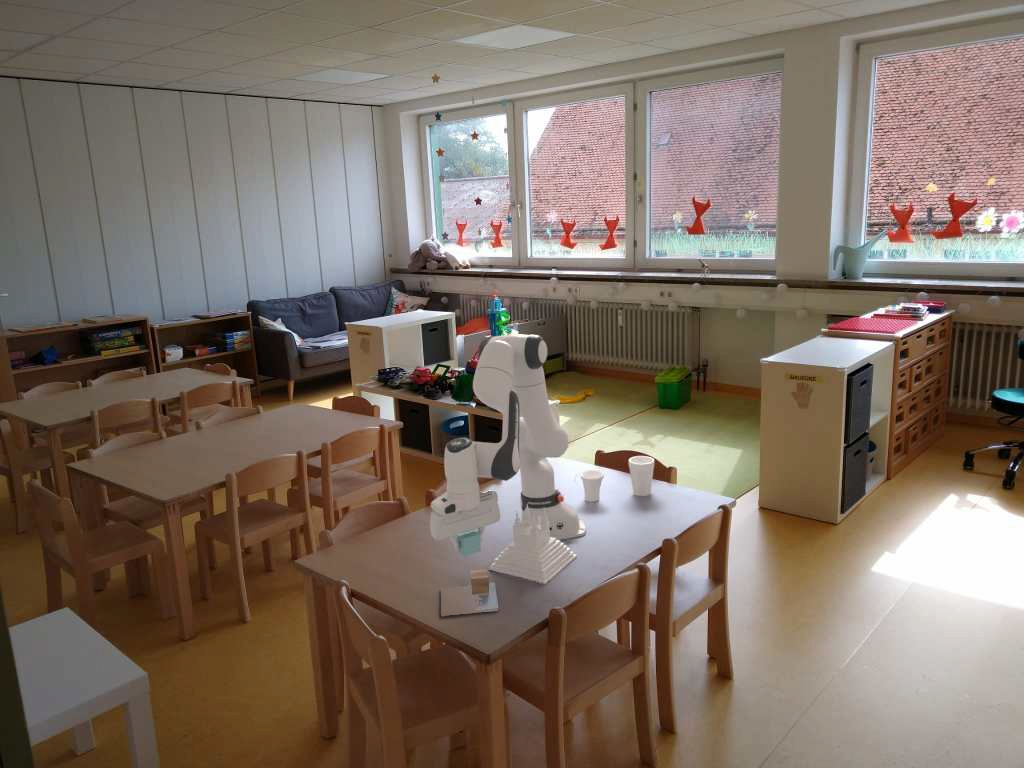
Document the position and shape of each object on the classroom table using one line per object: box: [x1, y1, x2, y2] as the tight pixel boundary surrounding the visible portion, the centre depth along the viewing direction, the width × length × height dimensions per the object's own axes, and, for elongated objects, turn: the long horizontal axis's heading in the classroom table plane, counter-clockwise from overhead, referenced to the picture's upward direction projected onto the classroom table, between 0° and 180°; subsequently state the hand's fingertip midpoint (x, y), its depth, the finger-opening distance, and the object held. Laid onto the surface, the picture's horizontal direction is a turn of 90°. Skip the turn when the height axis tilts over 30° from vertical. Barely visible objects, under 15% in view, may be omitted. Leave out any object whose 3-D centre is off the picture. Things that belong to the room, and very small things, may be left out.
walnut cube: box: [469, 568, 490, 595], centre depth 222 cm, size 5×5×5 cm
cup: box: [579, 469, 605, 503], centre depth 286 cm, size 9×9×10 cm
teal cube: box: [455, 529, 482, 557], centre depth 212 cm, size 5×5×5 cm
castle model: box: [491, 504, 578, 585], centre depth 237 cm, size 20×20×18 cm
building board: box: [475, 581, 499, 610], centre depth 219 cm, size 16×15×1 cm
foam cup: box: [628, 455, 655, 497], centre depth 289 cm, size 10×9×13 cm
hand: (468, 544), depth 213 cm, fingers closed on teal cube, 5 cm apart
